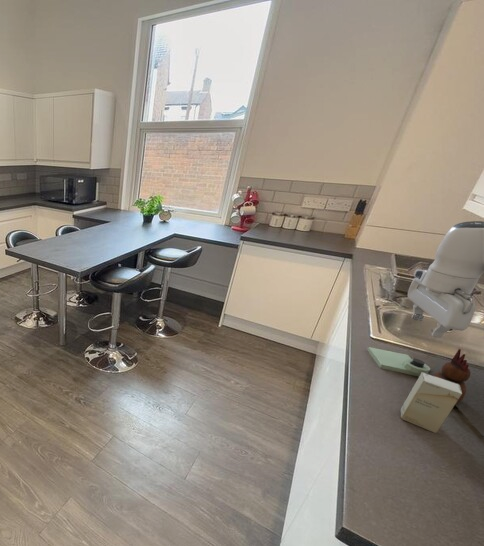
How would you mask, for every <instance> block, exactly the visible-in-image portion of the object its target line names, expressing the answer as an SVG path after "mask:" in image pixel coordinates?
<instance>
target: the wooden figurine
mask: <svg viewBox="0 0 484 546" xmlns="http://www.w3.org/2000/svg"><path fill="white" fill-rule="evenodd" d="M461 351H462V348H459V349H458V350H457V351H456V353H455V355H454V356H453V357H452V359H451V361H448V362H446V363H444V364H443V365H442V367H441V370H440V371H439V372H436V373H434V374H433V375H432V376H435V377H438V378H441V379H444V380H447V381H450V382H453V383H456V384H459V385H460V388H461V391H462V395H461V396H460V398H459V399H458V401H457V402H456V404H458V403H460V402H461V401H462V400H463V399H464V398H465V396H466V393H467V386H466V383H465V382H467V381H468V380H469V379H470V377H471V370H470V369H469V364H467V363H468V360H467V359H465V357H466V354H465V353H462V355H461Z"/></svg>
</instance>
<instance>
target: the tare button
mask: <svg viewBox="0 0 484 546" xmlns="http://www.w3.org/2000/svg"><path fill="white" fill-rule="evenodd" d="M412 360H413V361H412V362H411V364H412V365H414V366H416V367H420V368H423V366H424V364H426V363H425V361H423V360H421V359H418V358H412Z"/></svg>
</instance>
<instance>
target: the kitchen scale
mask: <svg viewBox="0 0 484 546" xmlns="http://www.w3.org/2000/svg"><path fill="white" fill-rule="evenodd" d="M367 352H368V354H369V355H370V356H371V358H372V360H373V361H374V362H375V363H376V365H377V366H378V367H379V368H380V369H383V370H387V371H392V372H396V373H397V372H398V373H400V374H401V373H402V374H405V375H410V376H414V377H419V376H420V374H421V373H422V372H423V373H426V374H429V372H430V370H431V367H430V366H429V365H428V364H427V363H425V364H424V366H423V368H420V367H416V366H414V365H412V364H411V362H412V361H413V358H411V356H410V355H409V354H405V353H400V352H396V351H390V350H385V349H381V348H376V347H370V346H368V347H367Z"/></svg>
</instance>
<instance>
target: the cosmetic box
mask: <svg viewBox="0 0 484 546" xmlns="http://www.w3.org/2000/svg"><path fill="white" fill-rule="evenodd" d="M461 395H462V391H461V388H460V385H459V384H456V383H453V382H450V381H447V380H444V379H441V378H438V377H435V376H433V375H432V374H429V373H428V374H426V373H423V372H422V373H421V374H420V376H418V378H417V379H416V382H415V383H414V385H413V386H412V388H411V390H410V392H409V394H408V395H407V398H406V399H405V400H404V402H403V404H402V406H401V407H400V418H401V420H403V421H406V422H407V423H410V424H412V425H414V426H417V427H420V428H422V429H425V430H427V431H428V432H432V433H435V434H437V433H438V432H439V430H440V428H441V427H442V425H443V424H444V422H445V421H446V419H447V418H448V416H449V415H450V413H451V412H452V411H453V408H454V407H455V405H456V404H457V403H456V402H457V401H458V399H459V398H460V396H461Z"/></svg>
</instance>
